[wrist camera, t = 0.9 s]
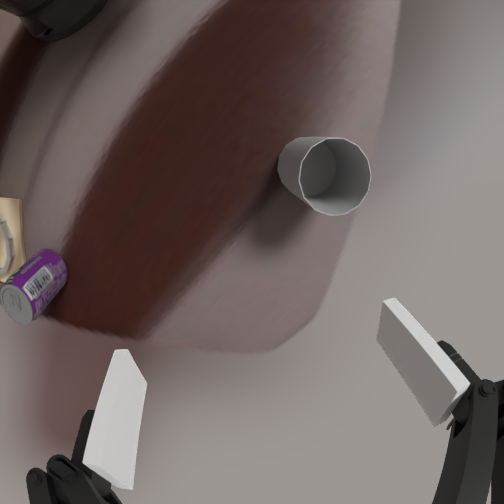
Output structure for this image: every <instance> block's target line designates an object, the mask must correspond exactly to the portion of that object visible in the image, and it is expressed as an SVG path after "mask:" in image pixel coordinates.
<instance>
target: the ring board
mask: <svg viewBox="0 0 504 504" xmlns="http://www.w3.org/2000/svg"><path fill="white" fill-rule="evenodd" d="M24 263H26V255H25V246H24V235H23V220H22V199H13V198H3V197H0V281H2V282H6V280H7V279H8V278H9V277H10V276H11V275H12V274H13V273H14V272H15V271H16V270H17V269H19V268H20V267H21V266H22V265H23V264H24Z"/></svg>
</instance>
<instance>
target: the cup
mask: <svg viewBox="0 0 504 504" xmlns="http://www.w3.org/2000/svg"><path fill="white" fill-rule="evenodd" d="M277 170H278V173H279V177H280V180H281V183H282V184H283V185H284V186H285V187H286V188H287V189H288V190H289V191H290V192H291V193H293V194H294V195H295V196H297V197H298V198H299V199H301V200H302V201H303V202H305V203H306V204H307V205H309V206H310V207H311V208H313V209H314V210H315V211H318V212H321V213H323V214H326V215H329V216H335V215H344V214H347V213H349V212H350V211H352V210H353V209H355V208H356V207H358V206H360V204H361V203H362V201H363V200H364V198H365V196H366V195H367V193H368V192H369V187H370V182H371V176H372V174H371V170H370V165H369V161H368V158H367V156H366V155H365V154H364V152H363V151H362V150H361V148H360V147H359V146H358V145H357V144H355V143H353V142H351V141H349V140H347V139H345V138H340V137H299V138H297V139H295V140H293V141H291V142H290V143H288V144H286V146H285V147H284V149H283V151H282V152H281V154H280V155H279V160H278V167H277Z"/></svg>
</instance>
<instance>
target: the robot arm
mask: <svg viewBox="0 0 504 504" xmlns="http://www.w3.org/2000/svg"><path fill="white" fill-rule="evenodd" d="M106 2H107V0H0V9H2V10H5V11H7V12H9V13H12V14H14V15H16V16H18V17H20V19H21V21H22V22H23V24H24V26H25V27H26V29H27V30H28V32H29V33H30V34H31V35H32V36H33V37H35V38H38V39H40V40H42V41H56V40H59V39H62V38H65V37H67V36H69V35H71V34H73V33H74V32H76V31H78V30H79V29H80V28H82V27H83V26H85V25H86V24H87V23H88V22H89V21H90V20H92V19H93V18H94V17H95V16H96V15H97V14H98V12H99V11H100V10H101V9H102V8H103V6H104V5H105V4H106ZM377 341H378V343H379V344H380V345H381V347H382V348H383V350H384V351H385V353H386V354H387V356H388V357H389V358H390V360H391V361H392V363H393V364H394V366H395V367H396V369H397V370H398V372H399V373H400V375H401V376H402V378H403V379H404V381H405V382H406V384H407V385H408V387H409V388H410V390H411V391H412V393H413V394H414V396H415V397H416V399H417V401H418V402H419V404H420V405H421V407H422V408H423V410H424V412H425V413H426V415H427V416H428V418H429V420H430V421H431V423H432V424H433V426H434V427H436V426H437V425H439V424H441V423H442V422H444V421H446V420H447V419H448V417H449V416H450V415H451V413H452V414H453V416H454V418H453V419H452V421H451V422H450V423H449V425H448V426H447V430H448V429H449V428H450V427H451V426H452V428H451V433H450V438H449V444H448V448H447V453H446V457H445V462H444V466H443V470H442V474H441V477H440V481H439V484H438V487H437V491H436V494H435V497H434V500H433V502H432V504H486V500H487V496H488V492H489V487H490V482H491V504H504V380H502V381H498V382H494V383H493V382H492V381H490V380H487V379H483V380H481V379H480V378H479V377H478V376H477V375H476V374H475V372H474V371H473V370H472V369H471V368H470V367H469V365H468V364H467V363H466V362H465V361H464V359H462V357H461V356H460V355H459V354H457V352H456V350H455V349H454V348H453V347H452V346H451V345H450V344H448V343H446V342H444V341H439V342H437V343H436V342H435V341H434V340H433V338H432V337H431V336H430V335H429V334H428V333H427V332H426V331H425V330H424V328H423V327H422V326H421V325H420V324H419V323H418V322H417V321H416V320H415V319H414V318H413V317H412V315H411V314H410V313H409V312H408V311H407V310H406V309H405V308H404V307H403V306H402V305H401V304H400V303H399V302H398V300H397V299H396V298H391V299H388V300H385V301H383V303H382V310H381V316H380V323H379V329H378V335H377ZM146 388H147V383H146V381H145V379H144V377H143V376H142V374H141V372H140V371H139V369H138V367H137V365H136V364H135V362H134V360H133V358H132V356H131V354H130V352H129V351H128V349H121V350H115V351H114V354H113V357H112V360H111V363H110V366H109V368H108V372H107V374H106V378H105V381H104V384H103V387H102V390H101V393H100V396H99V400H98V403H97V407H96V410H88V411H87V412H86V414H85V415H84V416H83V418H82V421H81V424H80V429H79V431H78V436H77V439H76V442H75V446H74V450H73V454H72V458H71V460H69V459H68V458H67V457H65V456H63V455H54V456H52V457H51V458H50V459H49V461H48V463H47V467H46V469H47V473H46V472H44V471H43V470H41V469H39V468H33V469H31V470H30V471H29V472H28V474H27V477H26V482H27V489H28V494H29V500H30V504H122V503H121V501H120V500H119V499H118V497H117V496H116V494H115V493H114V492H113V491H112V490H111V484H113V485H114V486H116V487H118V488H123V489H131V490H133V482H134V473H135V463H136V454H137V446H138V439H139V431H140V425H141V418H142V411H143V405H144V399H145V394H146Z"/></svg>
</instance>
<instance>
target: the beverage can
mask: <svg viewBox="0 0 504 504" xmlns="http://www.w3.org/2000/svg"><path fill="white" fill-rule="evenodd" d="M67 277H68V273H67V268H66V265H65V263H64V261H63V259H62V258H61V257H60V256H59V255H58V254H57V253H56V252H55V251H53V250H50V249H42V250H40V251H39V252H37V253H36V254H35V255H34V256H33V257H31V258H30V259H29V260H28V261H27V262H26V263H24V264H23V265H22V266H21V267H20V268H19V269H17V270H16V271H15V272H14V273H13V274H12V275H11V276H10V277H9V278H8V279H7V280H6V282H5V285H4V287H3V288H2V289H1V293H0V298H1V302H2V305H3V307H4V309H5V311H6V312H7V313H8V315H9V316H10V317H11V318H12V319H13V320H14V321H16V322H17V323H19V324H22V325H27V324H29V323H30V322H31V321H32V320H35V319H37V318H38V317H39V316H40V314H41V313H42V312H43V311H44V309H45V308H46V307H47V305H48V304H49V303H50V302H51V300H52V299H53V298H54V297H55V295H56V294H57V293H58V292H59V291H60V289H61V288H62V287H63V286H64V285H65V283H66V281H67Z"/></svg>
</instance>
